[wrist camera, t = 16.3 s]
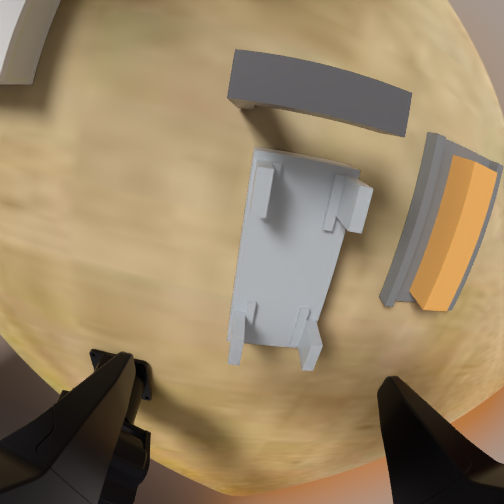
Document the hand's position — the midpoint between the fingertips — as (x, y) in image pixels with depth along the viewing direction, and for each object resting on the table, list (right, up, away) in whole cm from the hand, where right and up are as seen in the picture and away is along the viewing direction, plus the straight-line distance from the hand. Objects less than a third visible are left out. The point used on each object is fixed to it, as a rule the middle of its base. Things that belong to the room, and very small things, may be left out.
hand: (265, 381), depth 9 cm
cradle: (+2, +4, +12) cm, 13 cm away
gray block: (+2, +14, +8) cm, 16 cm away
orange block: (+15, +6, +11) cm, 20 cm away
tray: (+15, +6, +11) cm, 20 cm away
